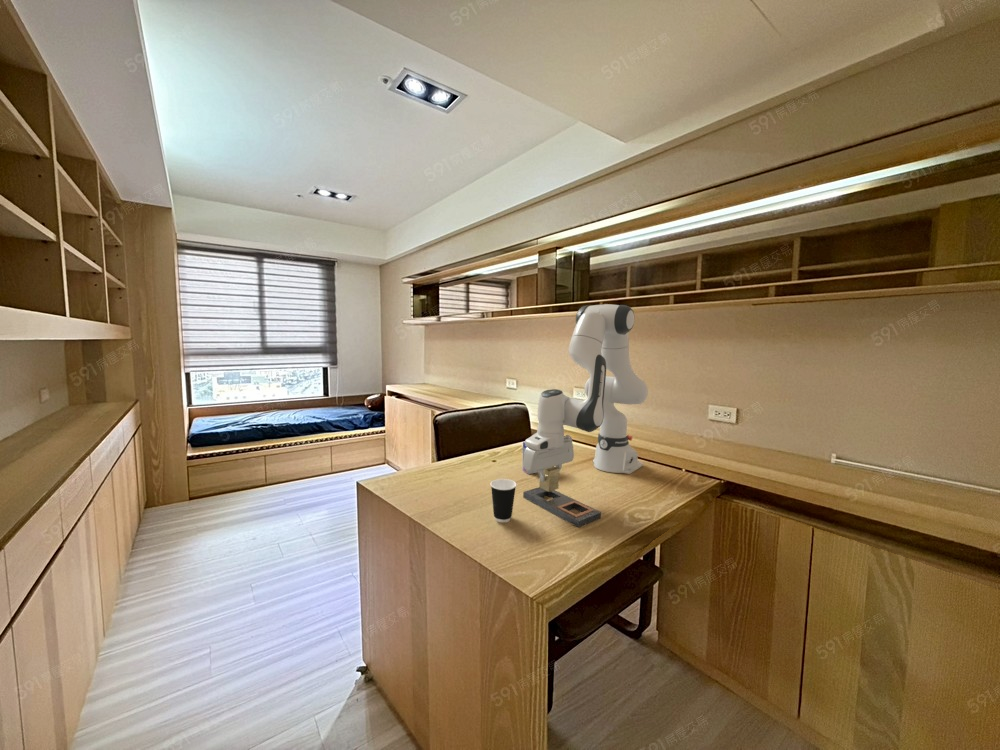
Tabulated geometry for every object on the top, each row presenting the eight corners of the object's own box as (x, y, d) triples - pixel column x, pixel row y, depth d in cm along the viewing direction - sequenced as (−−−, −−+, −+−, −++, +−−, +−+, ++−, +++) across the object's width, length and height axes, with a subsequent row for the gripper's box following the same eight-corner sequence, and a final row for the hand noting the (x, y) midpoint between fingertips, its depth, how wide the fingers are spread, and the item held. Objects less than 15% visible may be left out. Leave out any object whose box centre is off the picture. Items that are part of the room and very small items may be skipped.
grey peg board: (544, 490, 136) (544, 484, 136) (600, 518, 116) (601, 511, 116) (523, 497, 130) (523, 491, 130) (578, 527, 110) (579, 520, 110)
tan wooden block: (549, 484, 131) (549, 464, 130) (558, 488, 127) (559, 468, 126) (539, 487, 128) (539, 467, 127) (548, 491, 124) (549, 471, 124)
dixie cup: (484, 518, 115) (484, 483, 114) (503, 510, 120) (503, 476, 119) (502, 528, 109) (503, 491, 108) (521, 519, 115) (522, 484, 114)
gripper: (565, 432, 134) (563, 469, 136) (520, 441, 122) (520, 482, 124) (578, 436, 129) (577, 475, 131) (534, 446, 117) (532, 489, 119)
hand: (549, 478), depth 127 cm, fingers closed on tan wooden block, 4 cm apart
